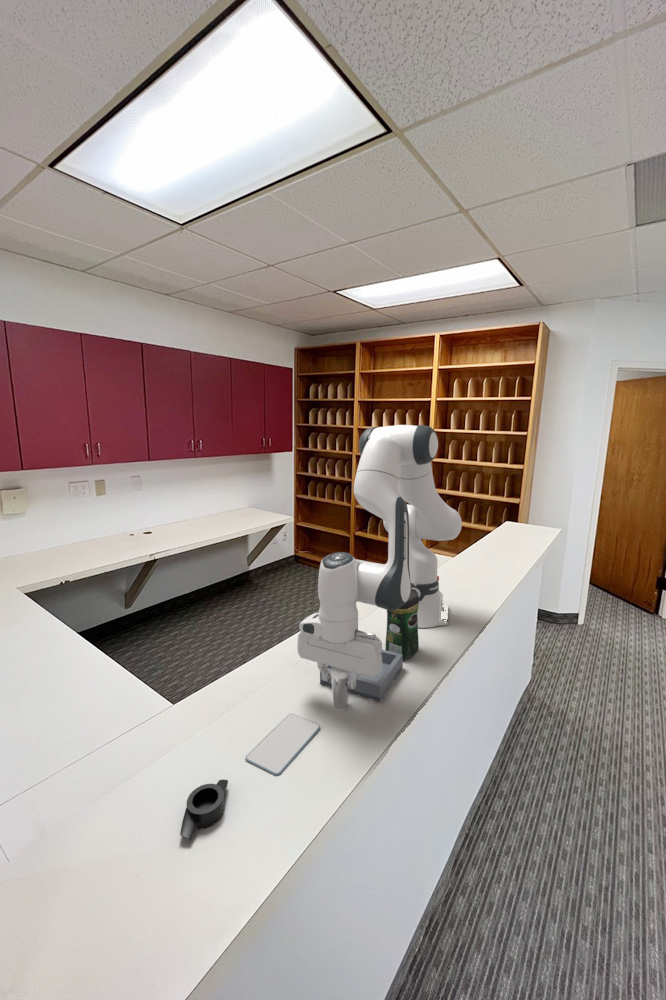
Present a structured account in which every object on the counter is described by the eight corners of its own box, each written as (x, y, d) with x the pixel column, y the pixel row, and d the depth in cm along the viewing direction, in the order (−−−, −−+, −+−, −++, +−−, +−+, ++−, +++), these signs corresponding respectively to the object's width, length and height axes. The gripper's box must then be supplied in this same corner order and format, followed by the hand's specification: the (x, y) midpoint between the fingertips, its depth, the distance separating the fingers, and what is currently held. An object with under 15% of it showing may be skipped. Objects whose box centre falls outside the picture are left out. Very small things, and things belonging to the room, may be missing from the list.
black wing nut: (245, 812, 67) (244, 796, 67) (184, 851, 61) (182, 834, 61) (224, 783, 73) (224, 768, 73) (167, 815, 67) (166, 799, 67)
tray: (348, 654, 117) (348, 641, 116) (402, 668, 109) (402, 654, 109) (320, 683, 103) (319, 668, 102) (379, 702, 95) (379, 686, 95)
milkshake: (336, 695, 98) (335, 655, 97) (354, 703, 95) (354, 663, 93) (323, 704, 95) (323, 663, 93) (342, 713, 91) (341, 671, 90)
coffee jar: (400, 642, 124) (400, 582, 121) (422, 651, 118) (424, 589, 116) (380, 654, 117) (380, 591, 114) (403, 664, 111) (404, 598, 109)
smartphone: (243, 758, 78) (290, 712, 91) (243, 762, 78) (290, 716, 91) (278, 775, 74) (322, 725, 87) (278, 780, 74) (322, 729, 87)
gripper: (387, 630, 90) (386, 688, 92) (307, 612, 99) (308, 666, 101) (376, 642, 84) (375, 704, 86) (293, 622, 94) (294, 678, 96)
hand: (339, 683), depth 94 cm, fingers open, 5 cm apart
